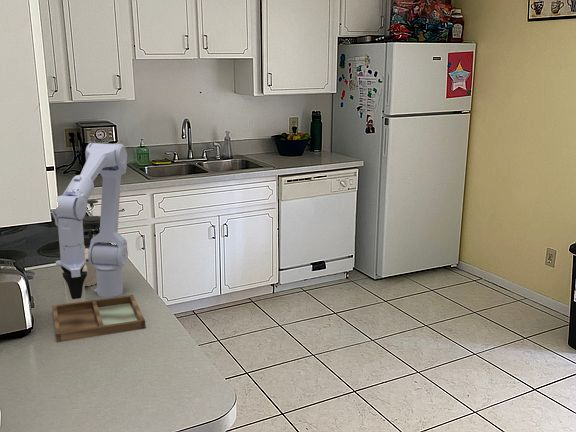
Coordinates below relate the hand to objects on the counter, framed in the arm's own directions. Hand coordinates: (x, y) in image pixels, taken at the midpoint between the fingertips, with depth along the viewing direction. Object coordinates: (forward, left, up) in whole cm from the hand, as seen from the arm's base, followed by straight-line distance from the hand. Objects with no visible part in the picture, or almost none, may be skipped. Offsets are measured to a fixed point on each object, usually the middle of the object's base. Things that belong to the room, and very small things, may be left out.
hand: (75, 294), depth 149 cm
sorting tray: (0, +5, -9) cm, 10 cm away
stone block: (0, 0, -1) cm, 1 cm away
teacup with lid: (-30, +4, -9) cm, 32 cm away
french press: (-42, +8, -9) cm, 44 cm away
